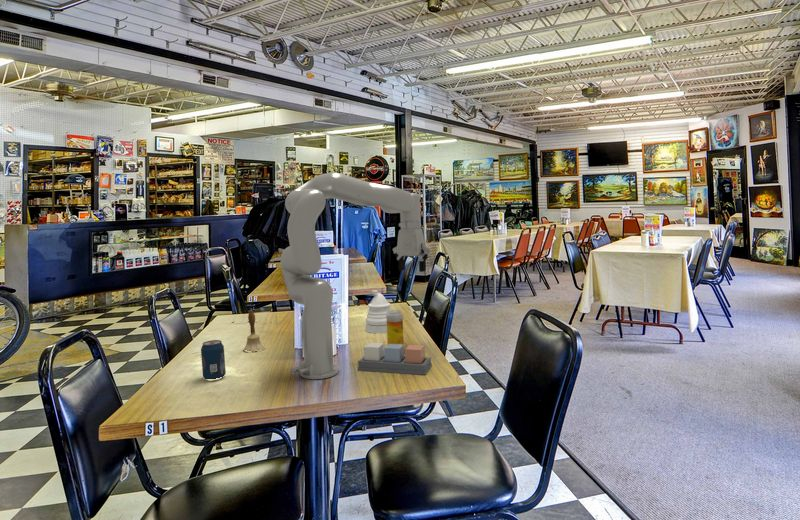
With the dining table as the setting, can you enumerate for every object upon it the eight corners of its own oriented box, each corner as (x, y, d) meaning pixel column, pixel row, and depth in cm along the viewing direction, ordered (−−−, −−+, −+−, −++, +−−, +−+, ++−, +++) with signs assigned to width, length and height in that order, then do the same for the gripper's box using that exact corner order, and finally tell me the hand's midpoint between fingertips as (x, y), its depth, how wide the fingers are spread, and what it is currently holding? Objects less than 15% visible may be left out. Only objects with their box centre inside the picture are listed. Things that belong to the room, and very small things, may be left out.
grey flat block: (431, 365, 156) (431, 357, 156) (425, 375, 148) (424, 365, 147) (367, 361, 163) (367, 353, 163) (357, 370, 155) (357, 361, 154)
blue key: (404, 357, 157) (403, 344, 157) (399, 362, 152) (399, 348, 152) (389, 356, 159) (389, 343, 158) (384, 361, 154) (384, 347, 153)
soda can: (203, 376, 154) (200, 341, 153) (225, 373, 156) (223, 338, 155) (202, 383, 147) (199, 346, 146) (226, 380, 150) (223, 343, 149)
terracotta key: (424, 358, 155) (424, 345, 154) (421, 363, 150) (420, 350, 149) (409, 357, 156) (409, 344, 156) (405, 362, 151) (405, 349, 151)
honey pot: (373, 335, 200) (372, 293, 198) (361, 329, 211) (359, 290, 210) (399, 330, 206) (398, 290, 204) (386, 325, 217) (385, 287, 216)
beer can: (402, 352, 172) (400, 313, 171) (386, 352, 174) (384, 313, 172) (405, 348, 178) (403, 309, 177) (389, 347, 180) (388, 309, 178)
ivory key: (384, 356, 159) (383, 343, 159) (379, 360, 154) (378, 347, 154) (369, 355, 161) (369, 342, 160) (364, 359, 156) (363, 346, 155)
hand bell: (265, 350, 182) (263, 310, 180) (243, 353, 179) (240, 313, 177) (263, 345, 189) (261, 307, 188) (242, 348, 186) (239, 309, 185)
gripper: (386, 226, 178) (388, 271, 180) (423, 226, 168) (425, 273, 169) (398, 226, 184) (400, 268, 186) (435, 225, 174) (436, 270, 175)
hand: (412, 270), depth 178 cm, fingers open, 9 cm apart
